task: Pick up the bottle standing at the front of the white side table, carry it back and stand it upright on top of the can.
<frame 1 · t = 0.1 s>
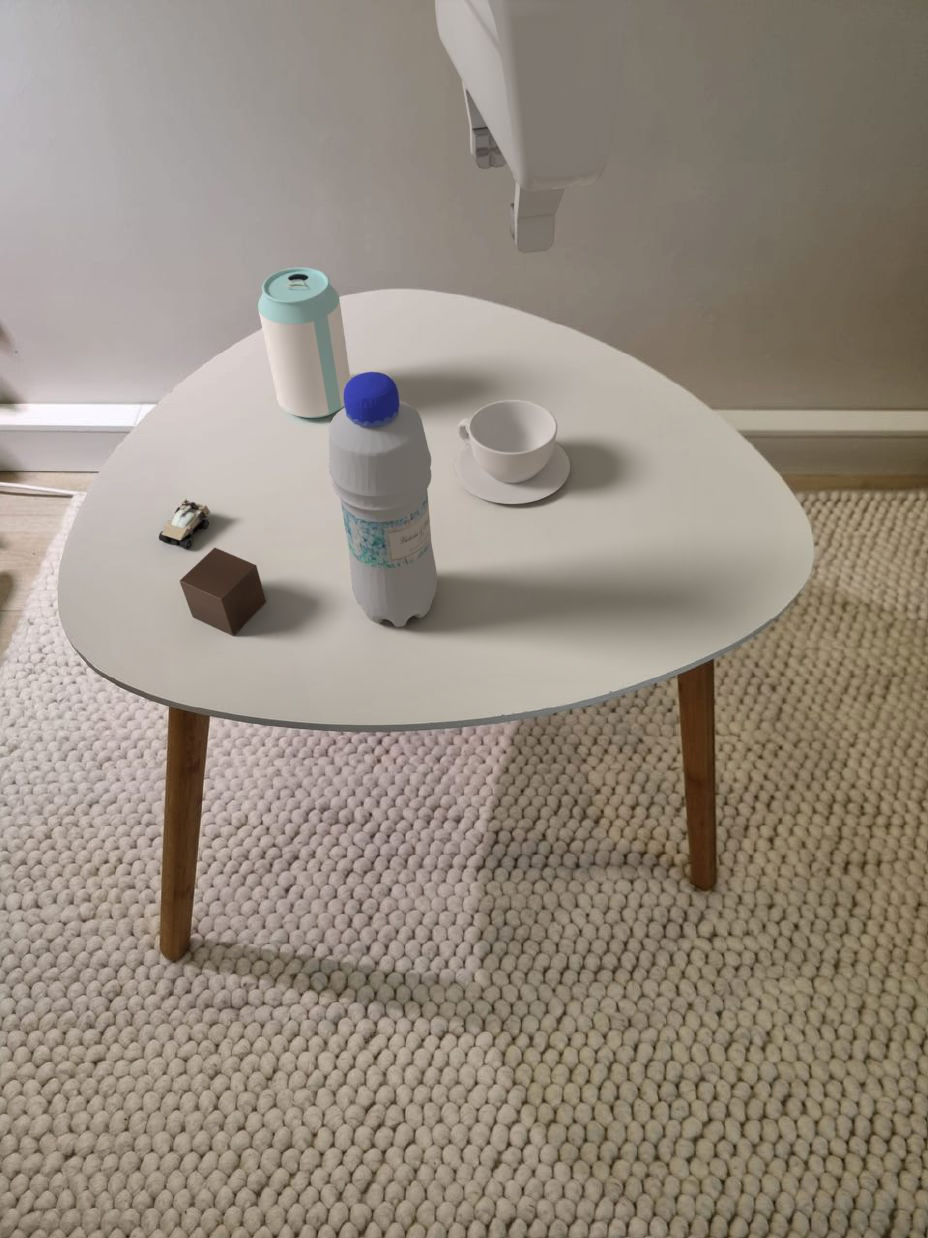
hand: (509, 201, 48), 31 cm above the table, tool pointing down, fingers open, 8 cm apart
bottle: (397, 605, 72), on the table
can: (316, 402, 90), on the table
walnut block: (229, 609, 72), on the table
teacup: (511, 471, 83), on the table
toy car: (189, 532, 79), on the table
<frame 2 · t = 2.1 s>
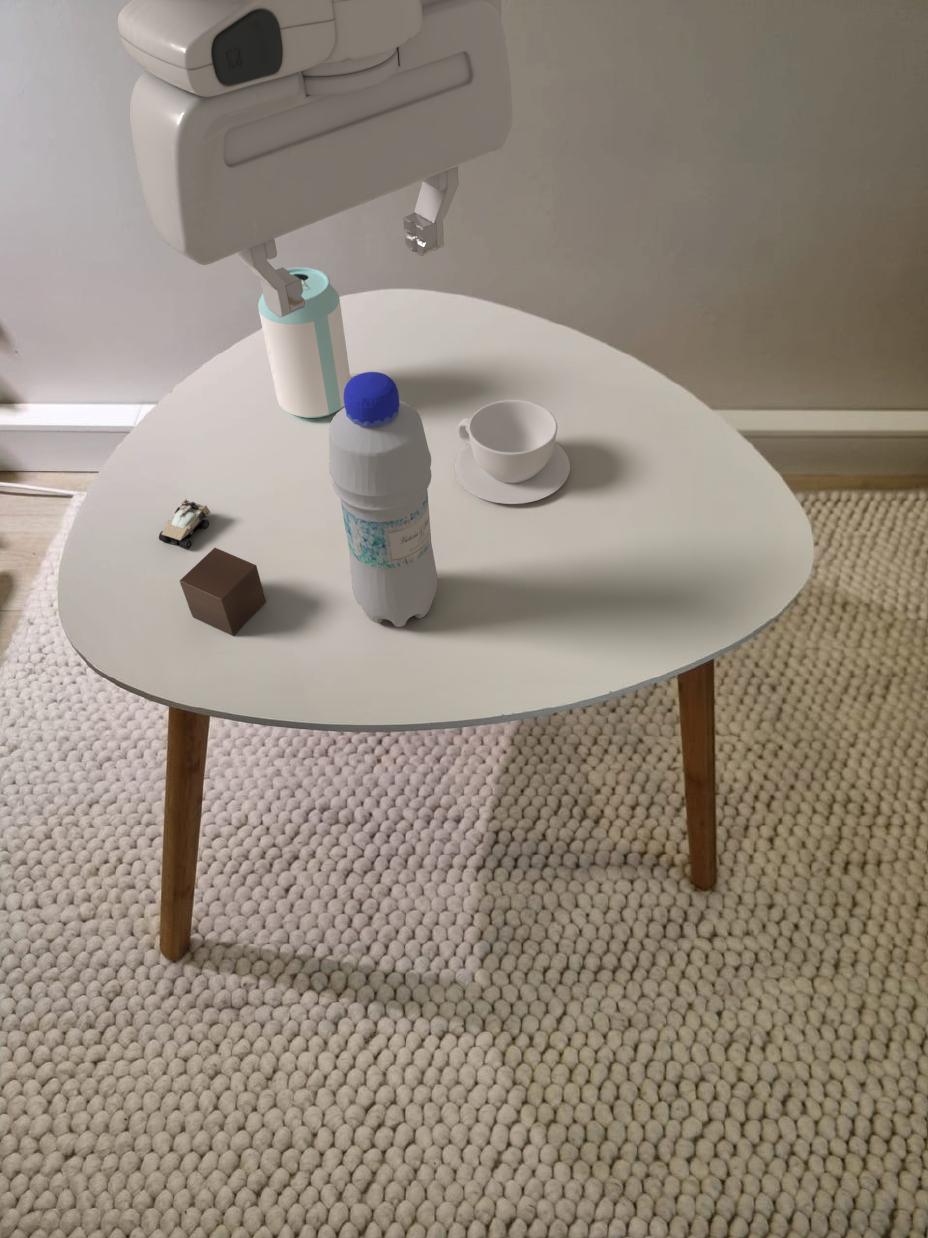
hand: (358, 278, 52), 27 cm above the table, tool pointing down, fingers open, 8 cm apart
nothing on the table moved.
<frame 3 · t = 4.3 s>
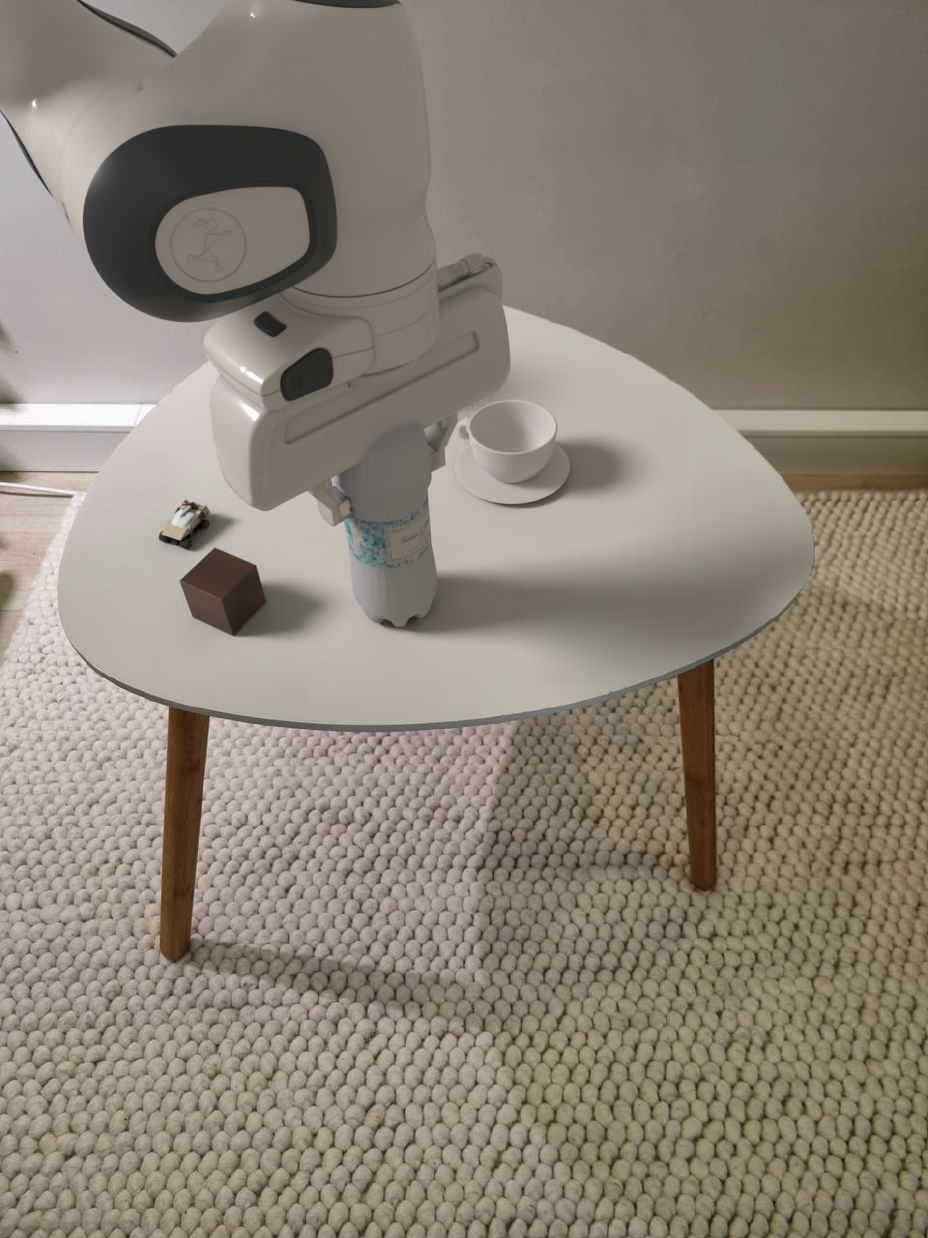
hand: (383, 491, 64), 11 cm above the table, tool pointing down, fingers closed on bottle, 6 cm apart
bottle: (397, 605, 72), on the table, touching gripper
everything else where it was.
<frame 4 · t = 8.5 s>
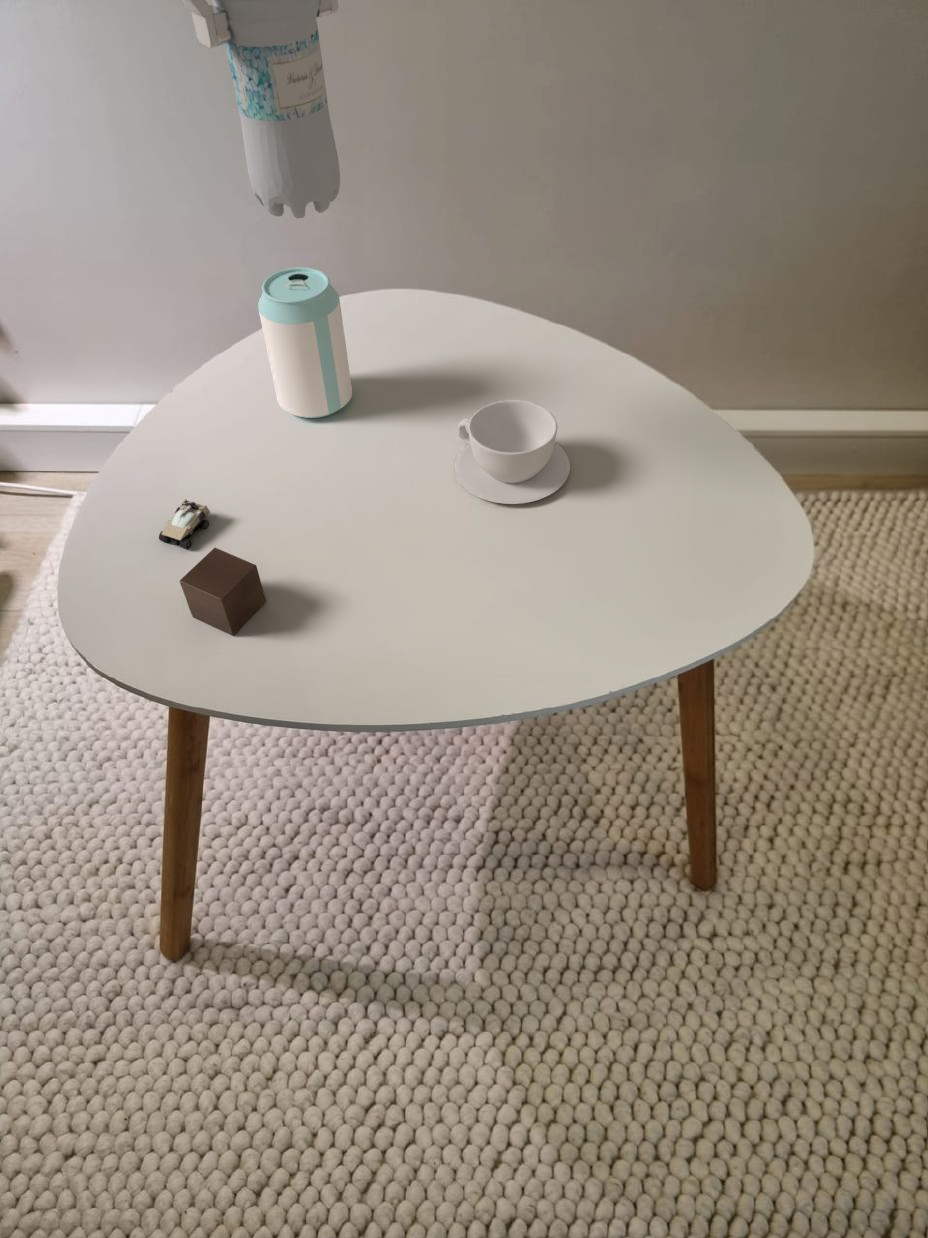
hand: (269, 28, 60), 34 cm above the table, tool pointing down, fingers closed on bottle, 6 cm apart
bottle: (300, 206, 68), point 22 cm above the table, touching gripper
everything else where it was.
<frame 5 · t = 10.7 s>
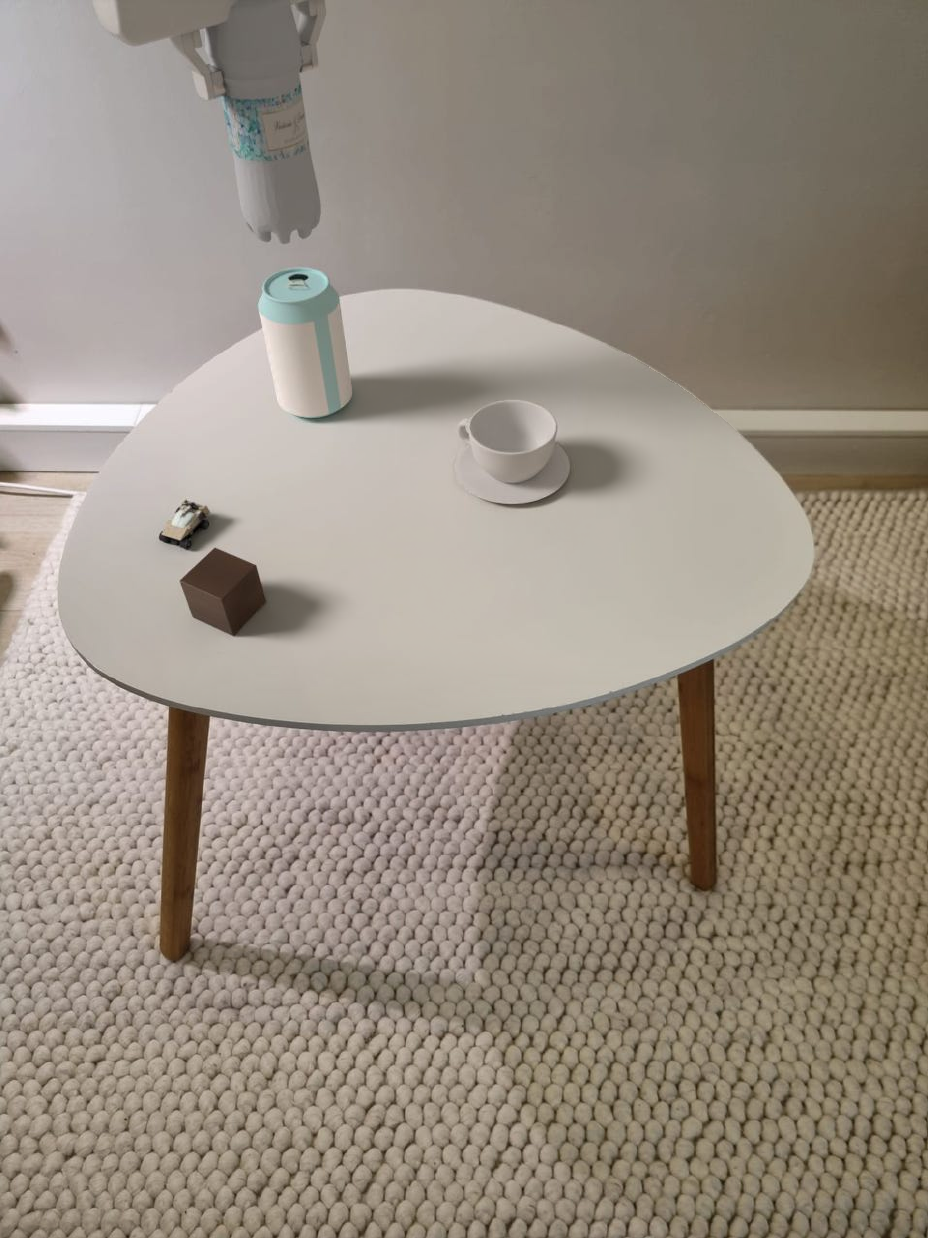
hand: (259, 82, 69), 28 cm above the table, tool pointing down, fingers closed on bottle, 6 cm apart
bottle: (285, 233, 78), point 16 cm above the table, touching gripper
everything else where it was.
when the fingers open (23 cm above the table, at t = 12.7 s): bottle stays where it is, resting on can.
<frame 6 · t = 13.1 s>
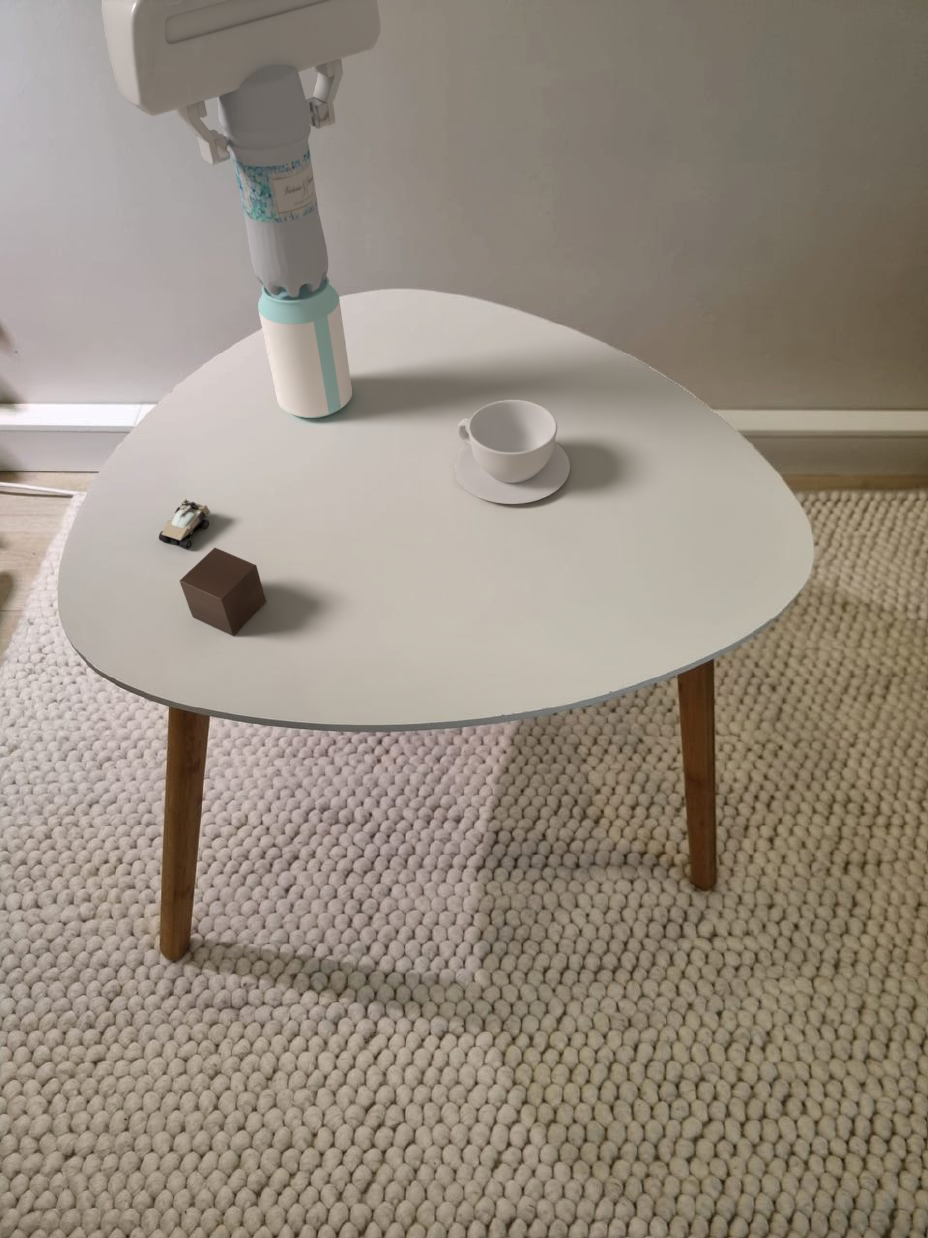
hand: (270, 142, 72), 24 cm above the table, tool pointing down, fingers open, 8 cm apart
bottle: (294, 285, 81), point 12 cm above the table, touching can
can: (316, 402, 90), on the table, touching bottle
everything else where it was.
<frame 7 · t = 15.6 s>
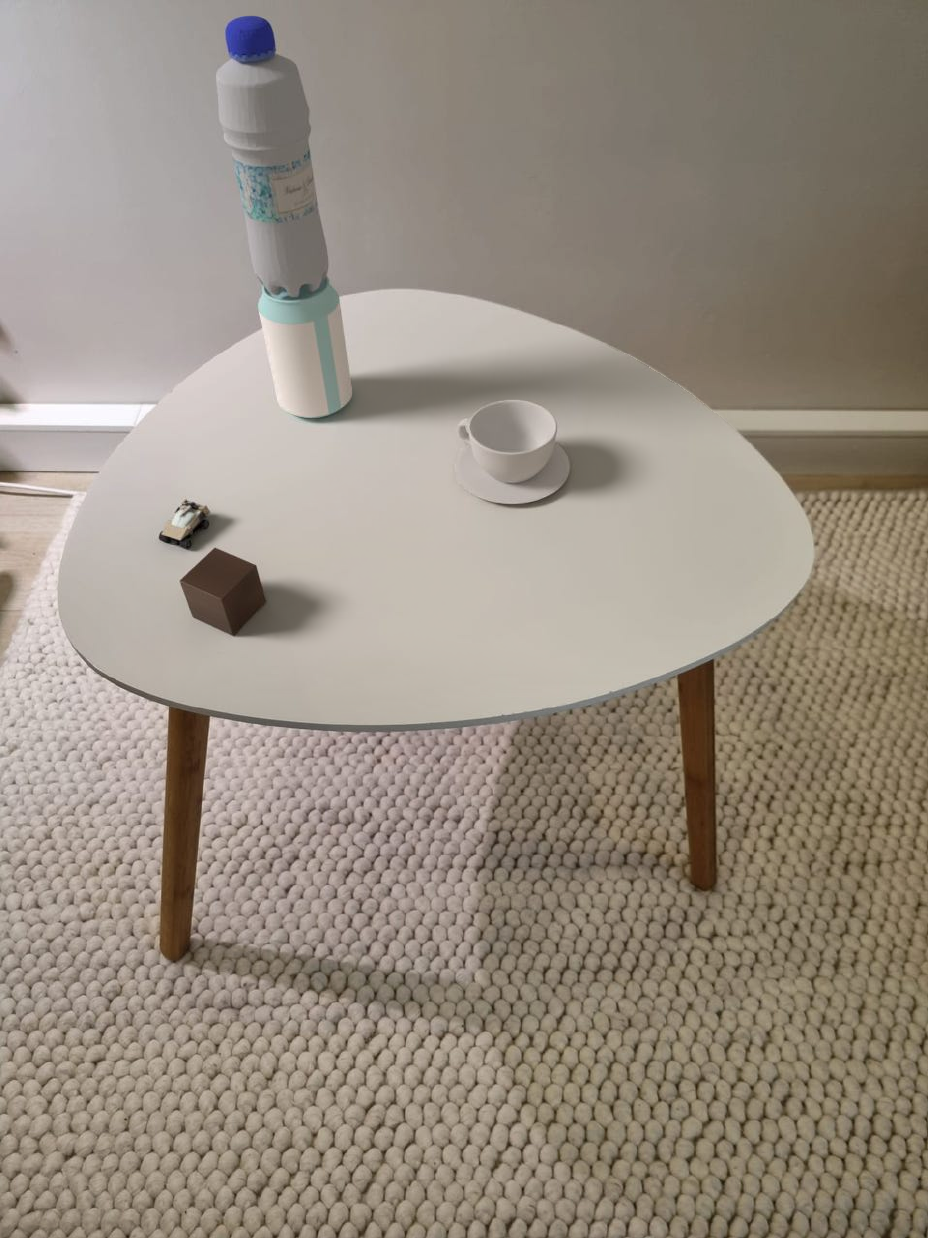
nothing on the table moved.
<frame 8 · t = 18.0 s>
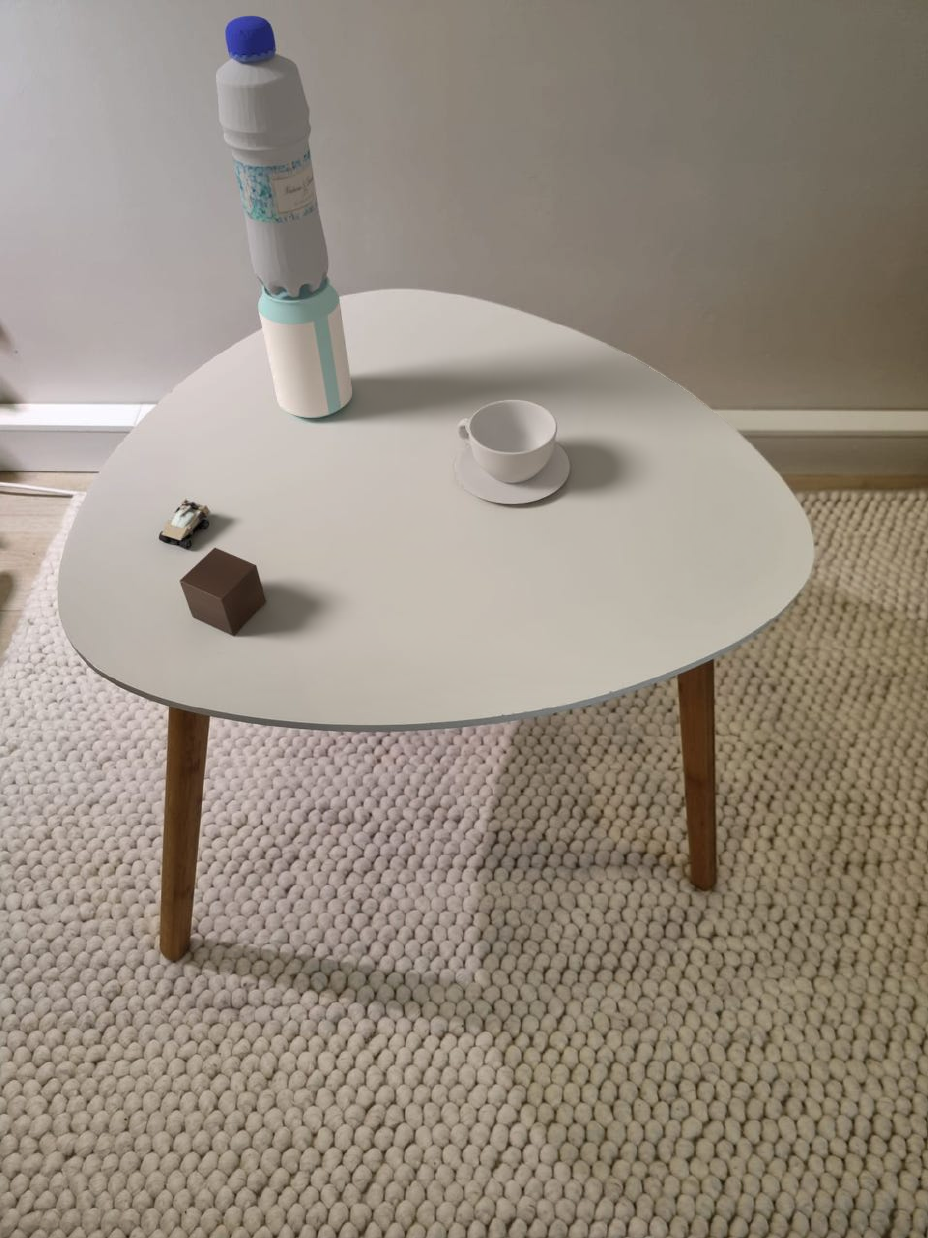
nothing on the table moved.
at the end: bottle 0.1 cm off-centre on the can, point 12.0 cm above the can's base; bottle tilted 0°; can tilted 0° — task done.
